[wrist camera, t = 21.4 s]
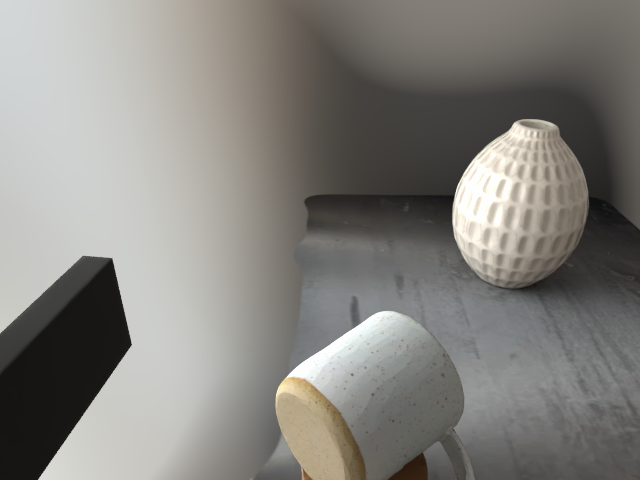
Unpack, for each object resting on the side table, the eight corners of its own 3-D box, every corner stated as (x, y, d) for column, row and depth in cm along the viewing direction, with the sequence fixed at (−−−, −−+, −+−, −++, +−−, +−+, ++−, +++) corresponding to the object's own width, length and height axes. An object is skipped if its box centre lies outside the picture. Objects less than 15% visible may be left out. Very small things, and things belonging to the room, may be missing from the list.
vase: (593, 288, 54) (643, 134, 46) (502, 321, 49) (541, 154, 41) (503, 235, 64) (532, 101, 56) (420, 259, 59) (439, 115, 50)
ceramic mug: (266, 445, 30) (262, 346, 26) (364, 379, 35) (372, 287, 31) (405, 595, 23) (426, 491, 19) (502, 487, 28) (534, 386, 24)
